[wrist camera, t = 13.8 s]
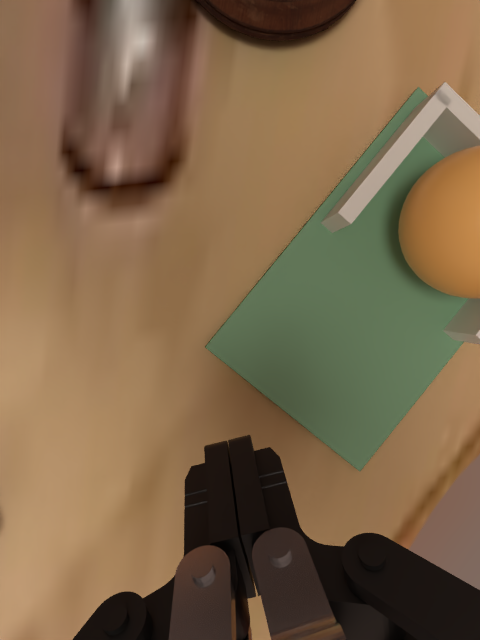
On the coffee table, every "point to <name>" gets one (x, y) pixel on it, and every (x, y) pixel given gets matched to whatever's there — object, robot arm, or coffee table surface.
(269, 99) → the coffee table surface
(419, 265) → the ball
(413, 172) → the felt strip
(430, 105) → the white side walls
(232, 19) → the dark wooden ornament
